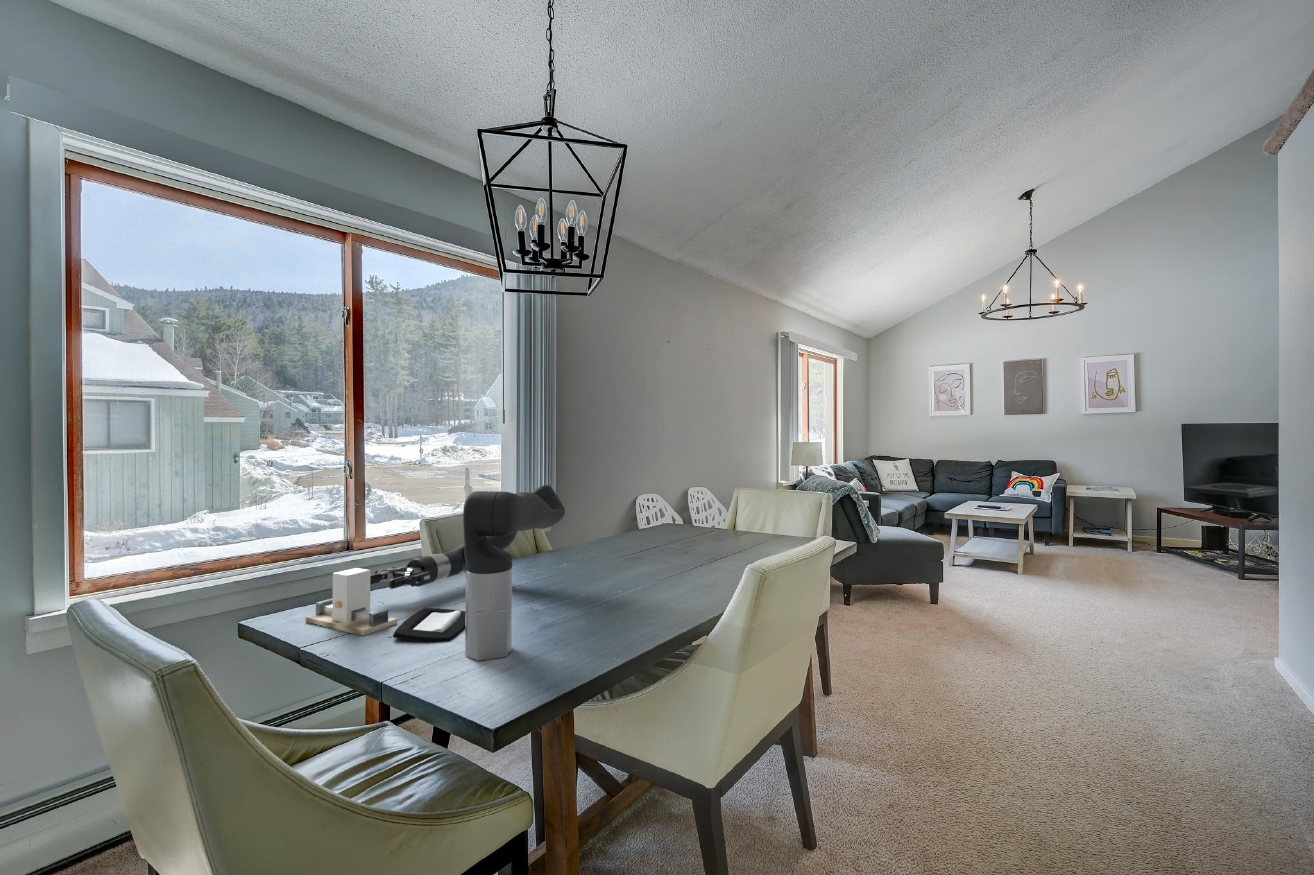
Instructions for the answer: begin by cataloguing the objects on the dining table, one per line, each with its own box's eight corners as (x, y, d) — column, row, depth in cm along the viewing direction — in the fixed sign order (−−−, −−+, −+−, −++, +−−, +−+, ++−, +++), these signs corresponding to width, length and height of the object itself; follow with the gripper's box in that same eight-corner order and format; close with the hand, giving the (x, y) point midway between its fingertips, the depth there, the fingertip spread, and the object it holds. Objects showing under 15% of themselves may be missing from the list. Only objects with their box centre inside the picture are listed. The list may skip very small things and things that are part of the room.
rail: (388, 621, 134) (388, 609, 134) (373, 627, 130) (373, 614, 130) (331, 609, 142) (331, 598, 142) (315, 614, 138) (315, 602, 138)
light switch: (452, 635, 124) (387, 629, 124) (451, 649, 124) (386, 642, 124) (478, 607, 144) (422, 602, 143) (477, 619, 144) (421, 614, 143)
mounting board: (397, 623, 136) (397, 618, 136) (363, 635, 128) (363, 630, 128) (340, 611, 144) (340, 607, 144) (305, 622, 136) (305, 617, 136)
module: (370, 615, 138) (370, 570, 138) (344, 624, 132) (344, 576, 132) (356, 612, 140) (356, 567, 140) (329, 620, 134) (330, 573, 134)
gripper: (448, 585, 154) (398, 601, 140) (410, 580, 161) (358, 594, 146) (448, 558, 154) (398, 570, 140) (410, 553, 161) (358, 564, 146)
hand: (377, 582), depth 143 cm, fingers open, 8 cm apart
